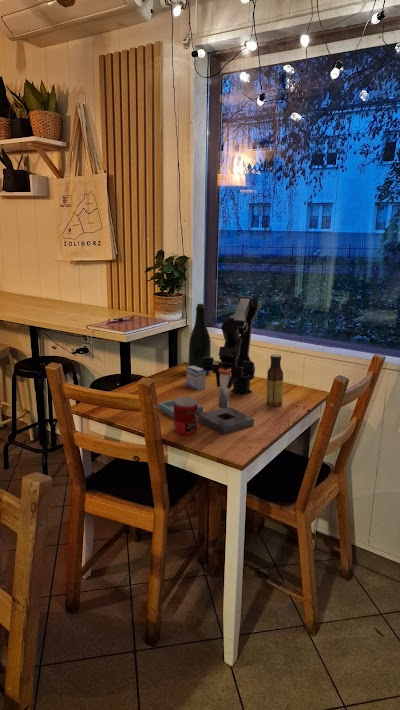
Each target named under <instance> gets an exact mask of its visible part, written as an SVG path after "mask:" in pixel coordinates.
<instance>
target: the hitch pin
mask: <svg viewBox="0 0 400 710" xmlns="http://www.w3.org/2000/svg"><path fill="white" fill-rule="evenodd" d="M218 372H220V378H219V387H218V408H219V409H220V408H228V407H230V389H229V388H228V386H229V381H230V378H231V372H232V368H230V367H219V368H218Z"/></svg>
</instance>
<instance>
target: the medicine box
mask: <svg viewBox="0 0 400 710" xmlns="http://www.w3.org/2000/svg"><path fill="white" fill-rule="evenodd" d="M185 374H186V376H185V381H186V382H185V386H186V387H188V388H190V387H191V388H190V389H193V388H194V389H193V390H196V391H201V390H204V389H206V379H207V378H206V376H207V375H206V370H203V369H202V368H199V367H196V366H189V367H188V366H187V367H186V373H185Z"/></svg>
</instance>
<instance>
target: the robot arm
mask: <svg viewBox="0 0 400 710" xmlns="http://www.w3.org/2000/svg"><path fill="white" fill-rule="evenodd" d="M259 311H260V301H259V299H256V298H255V297H253V296H251V295H250V296H249V295H241V296H239V298H238V299H237V306H236V309H235V311H234V313H233V314H231V315H230V316H229V317H228V319H227V320H226V321H224V322H223V323H222V324H221V326H220V327H221V331H222V335H223V338H224V339H223V340H224V345H223V346H219V351H218V356H219V360H220V361H219V360H215V359H214V357H203V358H202V359H201V365H202V368H203V370H207V371H210V372H212V373H213V374H215V379H216V387H217V388H219V378H220V372H218V368H219V367H230V368H232V372H231V373H230V381H229V386H228V388H229V390H230V391H232V392H234V393H235V394H238V395H240V396H241V395H246V394H249V393H253V391H252V390H251V388H250V386H251V385H250V384H251V380H254V378H255V374H256V373H255V372H256V367H255V363H254V361H252V360H251V357H250V346H251V340H252V339H251V338H252V330H253V321H254V320H255V319H256V317H257V316H258V312H259Z"/></svg>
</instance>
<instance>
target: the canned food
mask: <svg viewBox="0 0 400 710" xmlns="http://www.w3.org/2000/svg"><path fill="white" fill-rule="evenodd" d="M173 400H174V399H173ZM198 404H199V403H198V400H197V399H196V398H193V397H189V396H181V397H177V398H175V400H174V418H173V431H174V433H175V434H176V435H177V436H181V437H189V436H193V435H196V433H197V431H198V430H197V429H198V414H197V407H198V406H197V405H198Z"/></svg>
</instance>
